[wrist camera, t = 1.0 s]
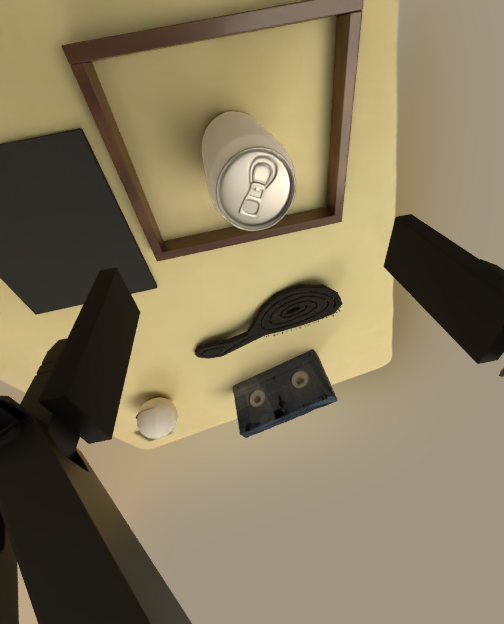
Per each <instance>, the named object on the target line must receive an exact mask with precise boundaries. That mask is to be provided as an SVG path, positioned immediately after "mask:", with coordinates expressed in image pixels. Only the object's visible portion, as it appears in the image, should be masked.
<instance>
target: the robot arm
mask: <svg viewBox="0 0 504 624" xmlns="http://www.w3.org/2000/svg"><path fill="white" fill-rule="evenodd" d="M384 267H385V268H386V269H387V271H388V272H389V273H390V274H391V275H392V276H393V277H394V278H395V279H396V280H397V281H398V282H399V283H400V284H401V285H402V286H403V287H404V288H405V289H406V290H407V291H408V292H409V293H410V294H411V295H412V296H413V297H414V298H415V299H416V301H417V302H418V303H419V304H420V305H421V306H422V307H423V308H424V309H425V310H426V311H427V312H428V313H429V314H430V315H431V316H432V317H433V318H434V319H435V320H436V321H437V322H438V323H439V324H440V325H441V326H442V327H443V329H445V331H446V332H447V333H448V334H449V335H450V336H451V337H452V338H453V339H454V340H455V341H456V342H457V343H458V344H459V345H460V346H461V347H462V348H463V349H464V350H465V351H466V352H467V353H468V354H469V355H470V356H471V357H472V359H473V360H474V361H475V362H476V363H477V364H480V363H485V362H490V361H495V360H498V359H499V358H500V356H501V355H502V354H503V353H504V270H503V269H502V268H500V267H498V266H497V265H494V264H492V263H489V262H487V261H484V260H481V259H480V260H479V259H478V258H476V257H475V256H473V255H472V254H470V253H469V252H467V251H466V250H464V249H463V248H461V247H460V246H458V245H457V244H455V243H454V242H452V241H451V240H449V239H448V238H446V237H445V236H443V235H442V234H440V233H439V232H437V231H436V230H434V229H433V228H431V227H430V226H428V225H427V224H425V223H424V222H422V221H420V220H419V219H418V218H416V217H415V216H413V215H412V214H410V215H404V216H399V217H396V218H395V222H394V226H393V230H392V234H391V238H390V242H389V247H388V251H387V255H386V259H385V263H384ZM139 315H140V311H139V309H138V307H137V305H136V303H135V301H134V299H133V298H132V296H131V294H130V292H129V290H128V288H127V286H126V284H125V282H124V280H123V278H122V276H121V274H120V272H119V271H118V269H117V267H116V268H110V269H105V270H100V271H99V273H98V275H97V277H96V279H95V282H94V284H93V286H92V288H91V290H90V292H89V294H88V296H87V298H86V301H85V303H84V305H83V307H82V309H81V311H80V313H79V315H78V317H77V320H76V322H75V324H74V326H73V328H72V330H71V332H70V334H69V336H68V338H67V339H62V340H58V341H57V342H56V344H55V345H54V346H53V347H52V348H51V349H50V350H49V351H48V352H47V354H46V356H45V358H44V360H43V362H42V366H40V367H39V369H38V371H37V375H36V376H35V377H34V379H33V381H32V383H31V385H30V387H29V389H28V390H27V392H26V394H25V396H24V398H23V400H22V402H21V404H18V403H17V402H15V401H14V400H13V399H12V398H10V397H9V396H0V624H19V615H18V577H17V576H18V574H17V562H18V565H19V568H20V571H21V574H22V577H23V579H24V583H25V586H26V589H27V591H28V594H29V597H30V600H31V603H32V606H33V609H34V612H35V615H36V618H37V621H38V624H192V623H191V622H190V620H189V618H188V617H187V615H186V614H185V612H184V611H183V609H182V608H181V606H180V604H179V603H178V601H177V600H176V598H175V597H174V595H173V594H172V592H171V591H170V589H169V587H168V586H167V585H166V583H165V581H164V580H163V578H162V577H161V575H160V573H159V572H158V570H157V569H156V567H155V566H154V564H153V563H152V561H151V559H150V558H149V557H148V555H147V553H146V552H145V550H144V549H143V547H142V545H141V544H140V543H139V541H138V539H137V538H136V536H135V535H134V533H133V532H132V530H131V529H130V527H129V525H128V524H127V522H126V521H125V519H124V518H123V516H122V514H121V513H120V511H119V510H118V508H117V507H116V505H115V504H114V502H113V501H112V499H111V497H110V496H109V494H108V493H107V491H106V490H105V488H104V487H103V485H102V483H101V482H100V480H99V479H98V477H97V476H96V474H95V473H94V471H93V469H92V468H91V466H90V465H89V463H88V462H87V460H86V459H85V457H84V455H83V454H82V452H81V451H79V450H78V449H77V448H76V447H77V444H78V440H79V437H81V438H82V439H84V440H85V441H86V442H87V443H89V444H90V443H95V442H100V441H105V440H110V439H112V435H113V431H114V426H115V422H116V417H117V413H118V408H119V404H120V399H121V395H122V391H123V386H124V382H125V377H126V373H127V368H128V364H129V359H130V355H131V351H132V346H133V342H134V337H135V333H136V328H137V324H138V319H139ZM499 376H502V377H503V376H504V368H503V369H502V370H501V372H500V374H499Z"/></svg>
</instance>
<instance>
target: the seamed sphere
mask: <svg viewBox="0 0 504 624" xmlns="http://www.w3.org/2000/svg"><path fill="white" fill-rule="evenodd" d="M177 417H178V415H177V410H176V407H175V406H174V404H173V403H172V402H171V401H170V400H168V399H166V398H162V397H158V398H153V399H150V400H149V401H147V402H146V403H144V405H143V406H142V407H141V409H140V410H139V412H138V415H137V416H136V419H137V426H138V428H139V430H140V432H141V433H142V434H143V435H144V436H146V437H148V438H152V439H158V438H162V437H164V436H166V435H168V434H169V433H170V432H171V431H172V430H173V428H174V427H175V425H176V422H177ZM135 431H136V430H135ZM135 431H134V432H135Z"/></svg>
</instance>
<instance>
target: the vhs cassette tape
mask: <svg viewBox="0 0 504 624" xmlns="http://www.w3.org/2000/svg"><path fill="white" fill-rule="evenodd" d="M233 393H234V396H235V404H236V410H237V416H238V418H237V419H238V423H239V430H240V435H242V436H243V437H246V438H247V437H249V436H251V435H254V434H257V433H260V432H262V431H264V430H267V429H270V428H271V427H274V426H276V425H279V424H281V423H284V422H287V421H289V420H292V419H294V418H296V417H298V416H301V415H304V414H306V413H308V412H311V411H312V410H314V409H317V408H320V407H323V406H326V405H328V404H331V403H333V402H336V401H337V398H336V396H335V393H334V391H333V389H332V386H331V384H330V381H329V379H328V377H327V375H326V373H325V371H324V368H323V366H322V364H321V361H320V359H319V357H318V355H317V354H316V352H315V351H314V350H311V351H309V352H307V353H305V354H303V355H300V356H298V357H296V358H294V359H291V360H289V361H287V362H285V363H283V364H281V365H279V366H276V367H274V368H272V369H270V370H268V371H265V372H263V373H261V374H259V375H257V376H255V377H253V378H250V379H248V380H246V381H244V382H242V383H240V384H237V385H236V386H234V387H233Z"/></svg>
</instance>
